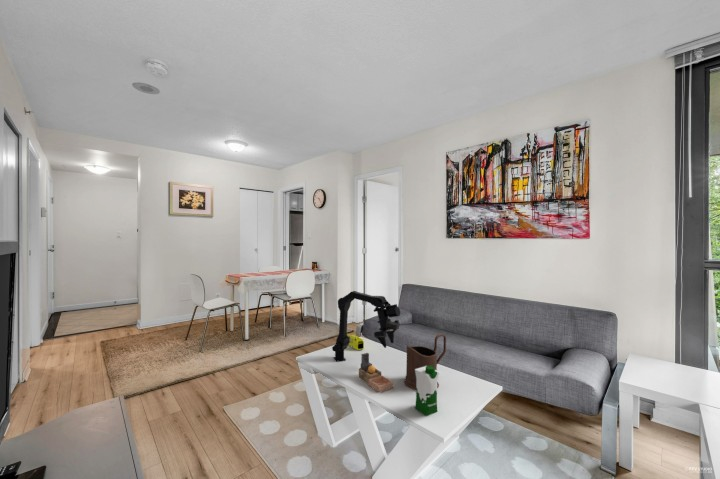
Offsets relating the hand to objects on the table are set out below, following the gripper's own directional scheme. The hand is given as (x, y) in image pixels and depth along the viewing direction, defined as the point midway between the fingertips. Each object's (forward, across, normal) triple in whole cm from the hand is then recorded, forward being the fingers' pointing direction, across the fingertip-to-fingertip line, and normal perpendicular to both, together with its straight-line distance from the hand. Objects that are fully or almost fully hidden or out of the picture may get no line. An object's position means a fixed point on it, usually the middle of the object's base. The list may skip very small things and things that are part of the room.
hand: (389, 345), depth 181 cm
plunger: (+9, -13, +10) cm, 18 cm away
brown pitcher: (+21, -1, -18) cm, 27 cm away
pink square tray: (+16, -18, 0) cm, 24 cm away
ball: (+8, -15, +6) cm, 18 cm away
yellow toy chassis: (+6, +25, +41) cm, 48 cm away
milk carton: (+23, -27, -27) cm, 44 cm away
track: (+14, -14, +8) cm, 21 cm away
